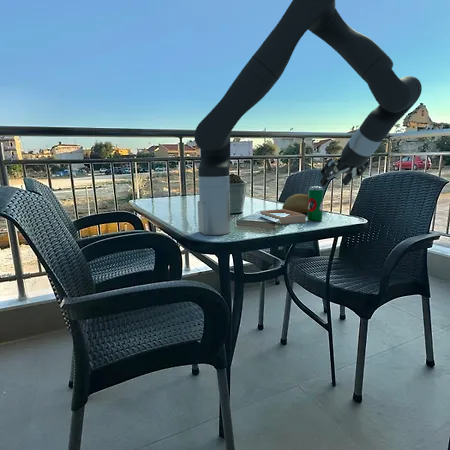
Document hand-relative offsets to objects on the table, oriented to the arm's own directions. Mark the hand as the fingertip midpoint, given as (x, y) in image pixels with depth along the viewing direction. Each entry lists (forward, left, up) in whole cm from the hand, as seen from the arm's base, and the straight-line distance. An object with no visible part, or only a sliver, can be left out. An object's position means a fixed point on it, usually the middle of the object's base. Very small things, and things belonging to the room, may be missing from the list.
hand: (333, 184), depth 103 cm
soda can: (0, +9, -14) cm, 16 cm away
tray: (-10, +15, -14) cm, 23 cm away
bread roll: (+4, +23, -14) cm, 28 cm away
